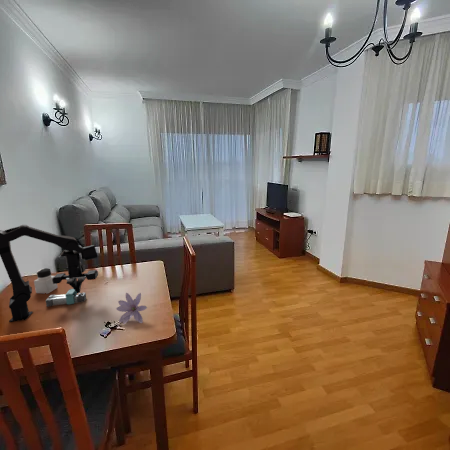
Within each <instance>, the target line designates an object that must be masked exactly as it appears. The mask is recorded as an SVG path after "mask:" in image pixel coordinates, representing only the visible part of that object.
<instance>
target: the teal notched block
mask: <svg viewBox="0 0 450 450" xmlns="http://www.w3.org/2000/svg"><path fill="white" fill-rule="evenodd" d="M73 294H77V295H78V293H77V292H76V291H75V290H74V288H70V289H68V290H67V292H66V293H65V296H66V302H67V304H66V305H74V304H76V303H75V302H74V296H73Z"/></svg>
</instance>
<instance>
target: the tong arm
mask: <svg viewBox="0 0 450 450" xmlns="http://www.w3.org/2000/svg"><path fill="white" fill-rule="evenodd" d="M65 294H66V293H65ZM65 294H50V295H49V296H48V298H55V297H64V296H65ZM73 295H78V293H77V294H73Z"/></svg>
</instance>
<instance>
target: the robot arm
mask: <svg viewBox="0 0 450 450" xmlns="http://www.w3.org/2000/svg"><path fill="white" fill-rule="evenodd" d="M23 236H24V237H29V238H32V239H36V240H39V241H44V242H46V243H50V244H54V245H55V246H58V247H59V248H61V249H63V250H62V252H61V253H60V254H59V255H60V257H61V258H63V257H65V261H66V266H67V267H66V271H67V273H68V274H66V273H65V272H64V273H56V274H55V275H54V276H55V277H54V278H53V279H52V282H53V284H57V285H58V284H60V283H61V282H62V280H63V281H64V280H66V285H69V286H71V287H72V289H74V290H75V291H76V292H77V294H79V293H81V289H82V288H81V287H82V284H83V282H84V281H85V280H88V281H93V280H96V279H97V278H98V276H99V271H98V270H97V269H92V270H88V271H87V273H86V272H85V271H86V264H83V263H82V262H81V260H83V261H84V262H86V261H91V260H94V259H98V252H97V250H96V246H95V244H92V245H88V246H82V245H80V244H79V242H78V241H77V239H76V238H75V237H74V236H69V235H63V234H62V235H61V234H60V235H59V234H55V233H52V232H48V231H45V230H43V229H39V228H35V227H32V226H29V225H27V224H22V225H19V226H15V227H11V228H9V229H6V230H5V229H4V230H2V229H1V230H0V258H1V260H2V261H1V262H2V263H3V267H4V268H5V271H6V274H7V275H8V278H9V280H10V283H11V286H12V296H11V297H10V298H9V303H8V309H9V310H10V313H11V316H12V317H11V318H10V319H9V320H8V322H9V323H12V322H22V321H26V320H27V319H29V317H30V316H32V314H33V310H31V311H29V306H28V301H29V300H30V299H31V297H32V294H33V287H32V286H31V285H30V281H29V280H26V281H25V280H24V278H23V277H22V274H21V272H20V270H19V265H17V261H16V258H15V256H14V255H13V252H12V245H11V242H12V241H14V240H17V239H19V238H22V237H23ZM84 272H85V273H84Z"/></svg>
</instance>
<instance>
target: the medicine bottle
mask: <svg viewBox="0 0 450 450" xmlns="http://www.w3.org/2000/svg"><path fill="white" fill-rule="evenodd" d="M36 275H37V279H35V280H33V284H34V289H35V293H36V294H45V293H46V294H48V295H49V294H50V293H51V292H53V291H55V290H56V289H58V287H59V286H58V283H57V284H53V282H52V279H53V278H54V277H55V276H56V275H52V272H51V269H50V268H49V267H48V268H47V267H46V268H41V269H38V270H37V271H36ZM46 294H45V295H46Z"/></svg>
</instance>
